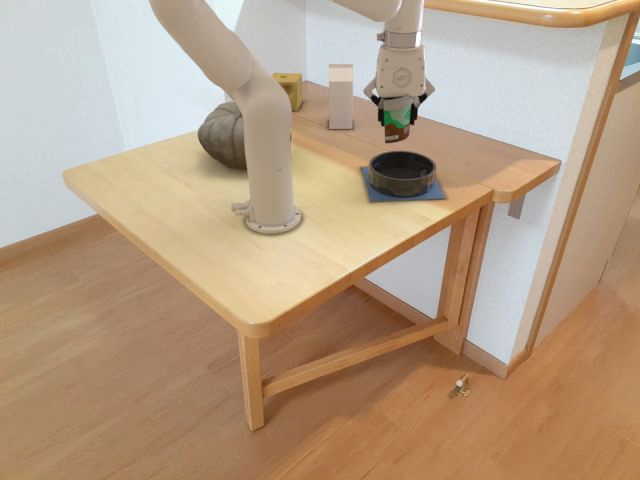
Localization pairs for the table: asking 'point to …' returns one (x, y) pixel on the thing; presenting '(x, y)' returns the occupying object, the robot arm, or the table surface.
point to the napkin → (379, 197)
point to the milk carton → (340, 96)
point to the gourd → (225, 135)
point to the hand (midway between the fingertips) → (397, 122)
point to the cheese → (291, 87)
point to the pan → (401, 174)
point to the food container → (397, 118)
